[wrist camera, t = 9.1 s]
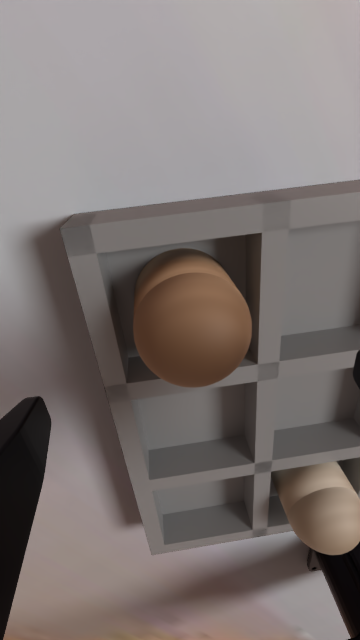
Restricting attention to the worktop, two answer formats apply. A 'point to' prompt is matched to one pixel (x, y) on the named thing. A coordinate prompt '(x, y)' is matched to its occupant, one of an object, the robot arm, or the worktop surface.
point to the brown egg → (189, 319)
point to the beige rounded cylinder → (320, 506)
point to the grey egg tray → (253, 372)
